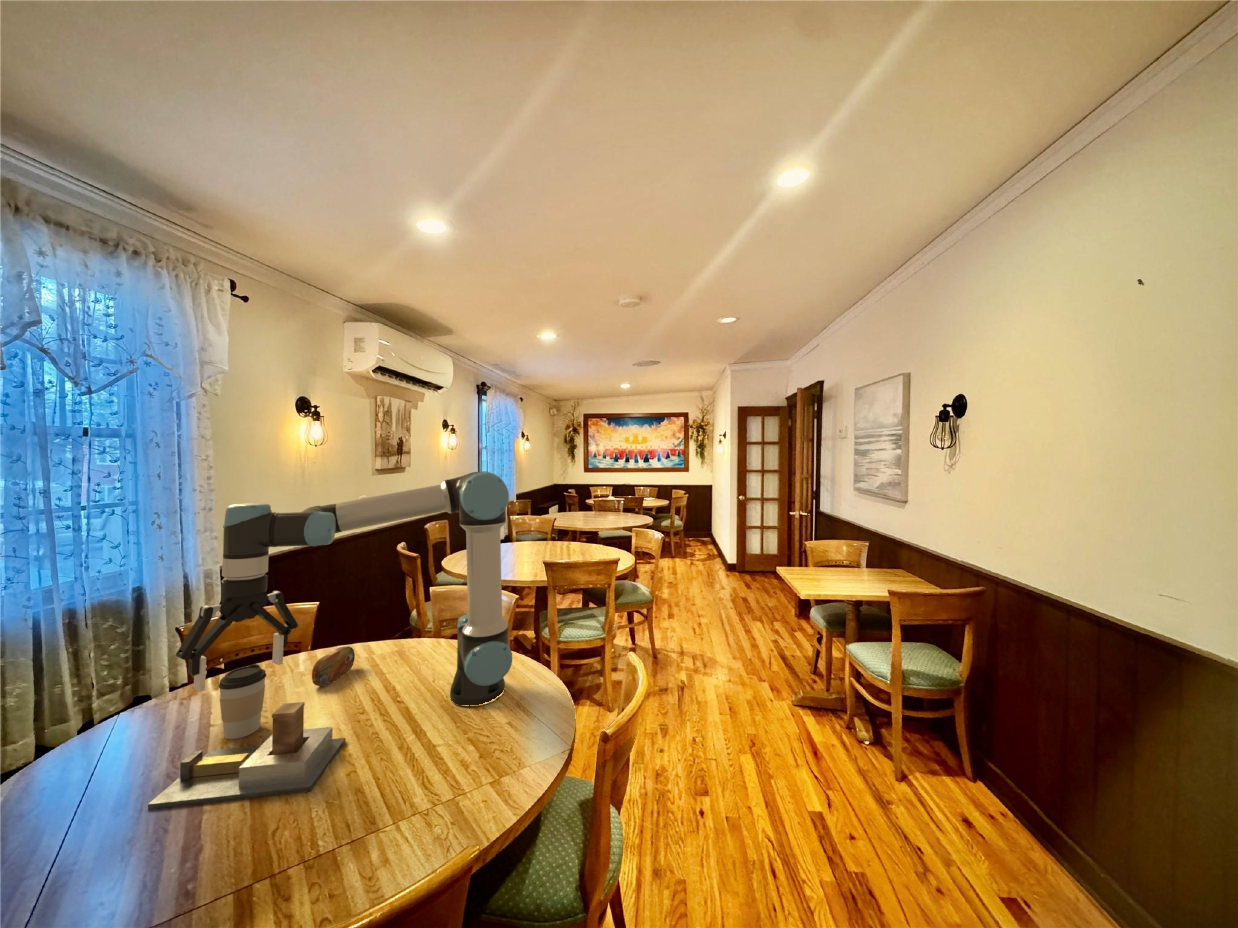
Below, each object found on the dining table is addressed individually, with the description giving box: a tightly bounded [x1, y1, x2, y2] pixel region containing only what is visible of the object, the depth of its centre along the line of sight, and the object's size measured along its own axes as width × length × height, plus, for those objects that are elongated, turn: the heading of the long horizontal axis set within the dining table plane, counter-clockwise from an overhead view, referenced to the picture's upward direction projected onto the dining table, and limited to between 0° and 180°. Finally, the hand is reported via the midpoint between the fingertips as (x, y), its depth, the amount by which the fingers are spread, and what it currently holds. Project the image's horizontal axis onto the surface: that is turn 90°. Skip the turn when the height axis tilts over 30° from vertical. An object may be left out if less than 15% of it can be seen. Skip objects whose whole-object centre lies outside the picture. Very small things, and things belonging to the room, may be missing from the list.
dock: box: [147, 726, 346, 810], centre depth 93 cm, size 28×16×5 cm, turn 100°
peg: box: [271, 701, 305, 755], centre depth 95 cm, size 4×4×12 cm
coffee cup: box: [217, 663, 267, 740], centre depth 108 cm, size 9×9×15 cm
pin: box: [179, 749, 248, 780], centre depth 92 cm, size 11×4×4 cm, turn 100°
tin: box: [311, 646, 356, 687], centre depth 134 cm, size 15×3×8 cm, turn 174°
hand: (240, 675), depth 93 cm, fingers open, 13 cm apart
